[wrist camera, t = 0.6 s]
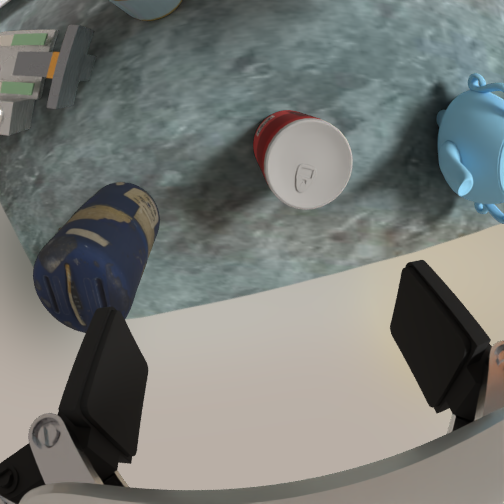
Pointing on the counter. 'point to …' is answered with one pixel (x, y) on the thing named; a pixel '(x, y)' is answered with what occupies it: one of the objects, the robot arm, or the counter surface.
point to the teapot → (474, 145)
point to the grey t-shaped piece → (61, 66)
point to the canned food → (302, 158)
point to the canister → (98, 255)
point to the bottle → (147, 8)
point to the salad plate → (3, 2)
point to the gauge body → (20, 78)
